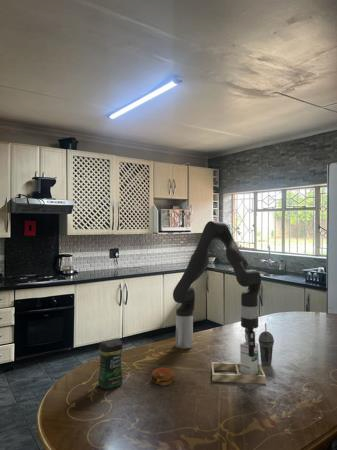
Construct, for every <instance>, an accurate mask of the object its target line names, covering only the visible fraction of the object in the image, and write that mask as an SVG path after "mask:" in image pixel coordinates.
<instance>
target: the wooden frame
mask: <svg viewBox="0 0 337 450" xmlns="http://www.w3.org/2000/svg"><path fill="white" fill-rule="evenodd" d="M218 370H219V371H234V372H235V373H234V374H233V373H215V371H218ZM240 372H241V362H218V361H217V362H214V361H213V362H211V379H212V382H220V383H221V382H223V383H240V384H241V383H245V384H246V383H247V384H266V380H267V379H266V374H265V372H264V369H263V366H262V364H261V363H259V375H241V373H240Z"/></svg>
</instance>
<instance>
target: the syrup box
mask: <svg viewBox="0 0 337 450" xmlns="http://www.w3.org/2000/svg"><path fill="white" fill-rule="evenodd" d="M250 345H253V343H250ZM239 346H240V347H239V350H240V351H239V352H240V354H239V355H240V358H239V359H240V361H239V363H241V371H240V375H260V373H259V364H260V363H259V362H260V361H259V357H260V355H259V342H255V348H254V357H249V347H248V343H247V342H246V341H244V342H242V343H240V344H239Z"/></svg>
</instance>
